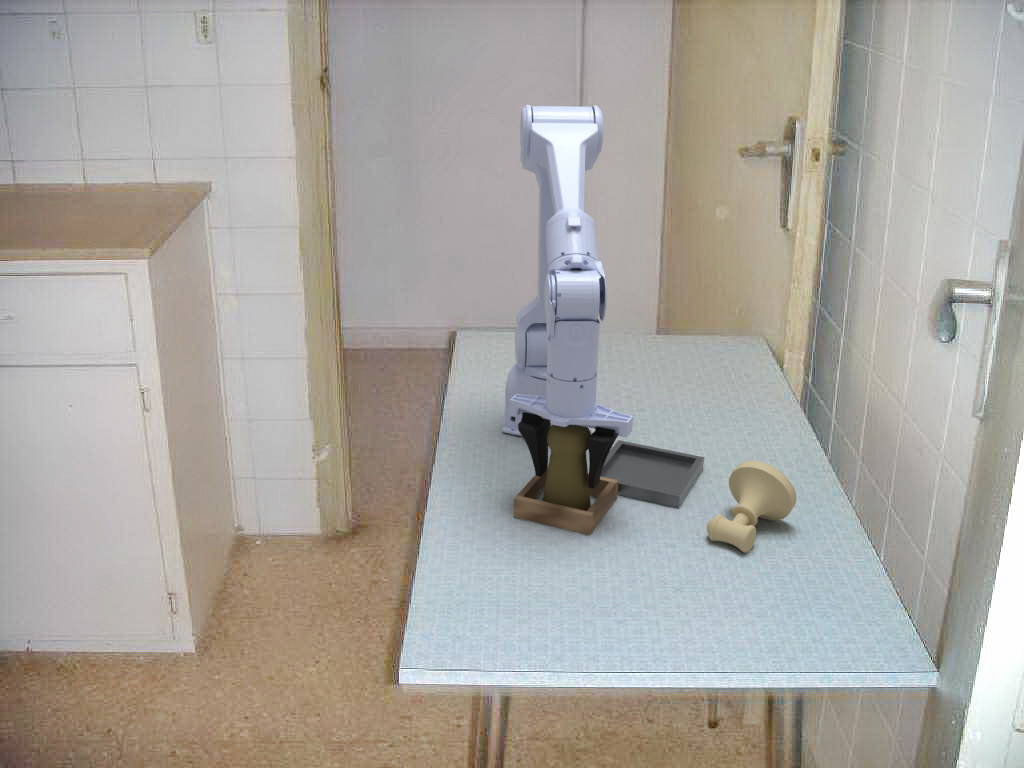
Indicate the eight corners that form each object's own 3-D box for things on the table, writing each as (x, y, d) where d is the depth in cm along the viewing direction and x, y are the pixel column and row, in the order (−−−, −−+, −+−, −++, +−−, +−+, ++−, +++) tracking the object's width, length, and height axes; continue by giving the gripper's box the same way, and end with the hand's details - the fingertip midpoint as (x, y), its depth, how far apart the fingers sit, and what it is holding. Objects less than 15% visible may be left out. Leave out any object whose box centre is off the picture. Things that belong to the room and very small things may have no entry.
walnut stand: (513, 516, 128) (513, 498, 127) (544, 482, 136) (544, 464, 135) (590, 535, 124) (591, 515, 123) (617, 498, 132) (618, 480, 131)
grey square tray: (587, 488, 135) (588, 476, 134) (617, 450, 144) (618, 440, 144) (678, 508, 130) (679, 496, 130) (703, 468, 140) (704, 457, 140)
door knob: (757, 528, 117) (691, 506, 121) (760, 578, 122) (696, 555, 126) (796, 472, 123) (731, 452, 127) (796, 522, 127) (734, 501, 132)
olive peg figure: (600, 504, 131) (605, 421, 127) (575, 525, 126) (579, 440, 122) (557, 490, 134) (560, 409, 130) (531, 510, 129) (533, 427, 125)
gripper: (499, 373, 122) (497, 480, 128) (621, 395, 117) (614, 506, 122) (523, 353, 128) (521, 456, 134) (641, 373, 123) (633, 480, 128)
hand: (567, 478), depth 128 cm, fingers open, 6 cm apart
